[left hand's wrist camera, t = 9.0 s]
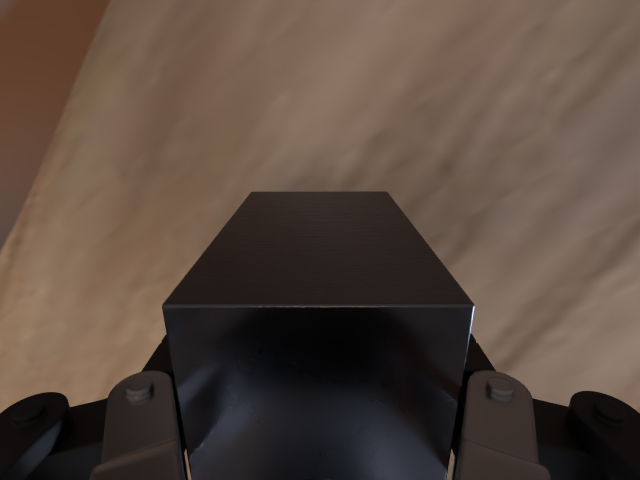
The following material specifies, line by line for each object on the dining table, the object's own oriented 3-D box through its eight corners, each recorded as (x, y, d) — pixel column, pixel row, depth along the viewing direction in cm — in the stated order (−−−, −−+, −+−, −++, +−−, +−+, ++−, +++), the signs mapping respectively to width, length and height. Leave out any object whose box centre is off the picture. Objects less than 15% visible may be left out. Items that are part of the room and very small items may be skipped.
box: (251, 191, 16) (160, 304, 7) (387, 191, 16) (475, 304, 7) (273, 531, 23) (245, 796, 14) (366, 531, 23) (394, 797, 14)
